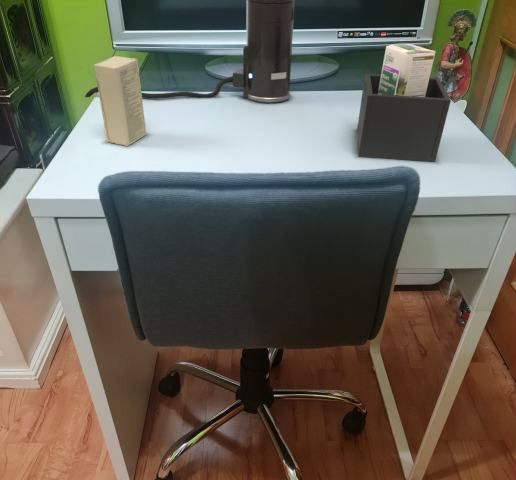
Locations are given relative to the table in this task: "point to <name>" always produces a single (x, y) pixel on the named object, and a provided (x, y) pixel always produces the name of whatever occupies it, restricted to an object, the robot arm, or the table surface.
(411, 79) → the syrup box
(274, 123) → the table surface
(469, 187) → the table surface
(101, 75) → the cosmetic box
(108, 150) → the table surface
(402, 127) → the waste bin
